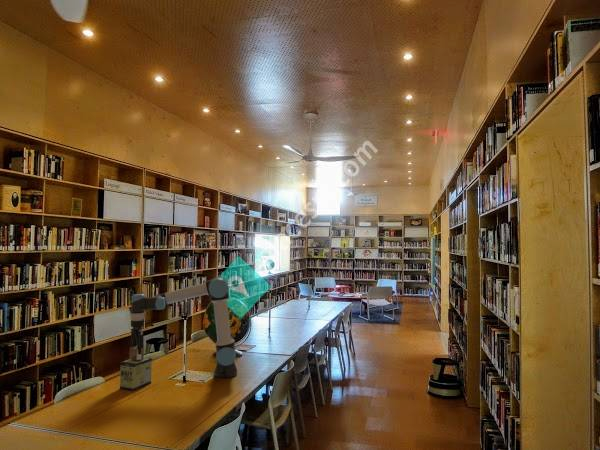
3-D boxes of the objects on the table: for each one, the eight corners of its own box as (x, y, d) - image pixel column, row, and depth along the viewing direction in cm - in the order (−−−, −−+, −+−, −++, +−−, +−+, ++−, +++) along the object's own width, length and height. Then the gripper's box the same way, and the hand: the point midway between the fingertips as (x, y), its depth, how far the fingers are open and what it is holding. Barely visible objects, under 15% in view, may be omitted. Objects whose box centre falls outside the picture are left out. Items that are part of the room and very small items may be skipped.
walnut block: (143, 359, 248) (143, 347, 249) (133, 360, 244) (133, 348, 244) (139, 357, 252) (139, 345, 253) (129, 358, 248) (129, 347, 249)
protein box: (119, 389, 242) (120, 362, 243) (138, 381, 256) (138, 355, 257) (133, 391, 238) (134, 364, 239) (151, 383, 253) (152, 357, 254)
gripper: (150, 321, 245) (149, 360, 244) (137, 317, 259) (136, 354, 258) (137, 322, 240) (136, 362, 239) (125, 318, 254) (124, 356, 252)
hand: (136, 358), depth 248 cm, fingers closed on walnut block, 6 cm apart
